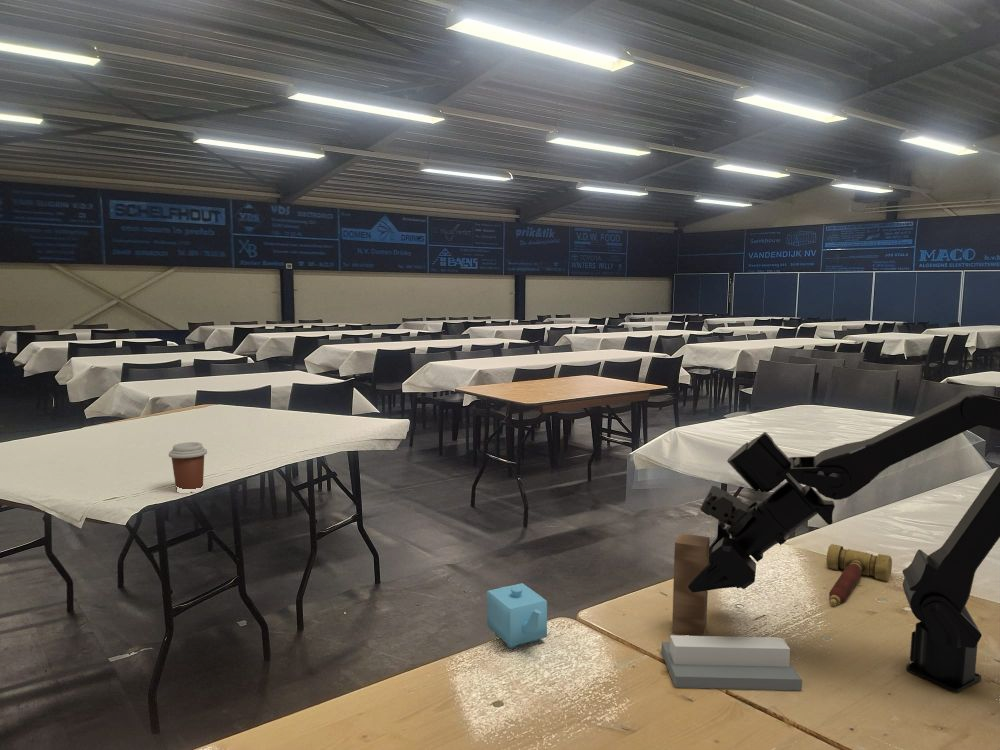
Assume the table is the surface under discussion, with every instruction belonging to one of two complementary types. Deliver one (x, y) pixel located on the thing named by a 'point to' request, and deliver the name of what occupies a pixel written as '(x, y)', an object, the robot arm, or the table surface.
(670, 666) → the ridge board
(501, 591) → the teapot
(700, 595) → the walnut post
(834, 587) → the gavel
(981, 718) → the table surface
